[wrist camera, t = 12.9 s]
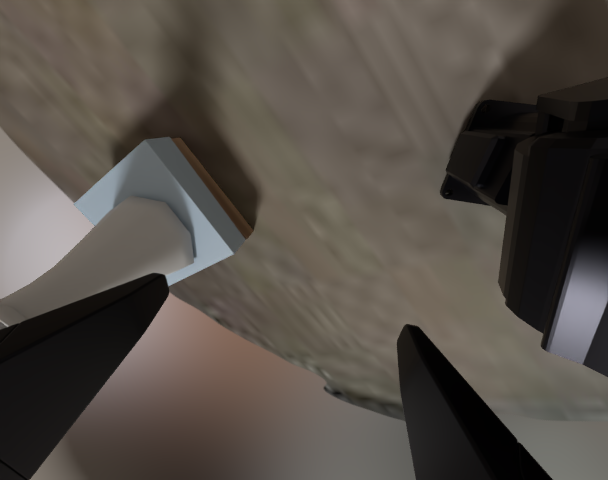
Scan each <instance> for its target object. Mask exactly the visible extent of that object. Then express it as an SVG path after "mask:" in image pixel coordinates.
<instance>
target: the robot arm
mask: <svg viewBox="0 0 608 480" xmlns="http://www.w3.org/2000/svg"><path fill="white" fill-rule="evenodd" d="M484 105H487V110H486V112H484V113H482V111H481V109H482V107H483V106H484ZM446 172H447V176H446V178H445V180H444V183H443V185H442V188H441V190H440V194H441V196H442V197H444V198H446V199H451V200H457V201H464V202H470V203H476V204H483V205H489V206H492V207H494V208H495V209H497V210H499V211H500V212H502V213H503V214H505V215H506V223H505V231H504V239H503V247H502V255H501V263H500V271H499V279H498V283H499V286H500V288H501V291H502V293H503V296H504V297H505V298H506V301H505V304H506V306H507V307H508V308H509V309H510V310H511V311H512V312H513V313H514V314H515V315H516V316H517V317H519V318H520V319H522V320H523V321H525V322H526V323H527V324H529V325H530V326H532V327H533V328H535V329H536V330H538V331H540V332H542V333H543V338H542V341H541V347H542V349H544V350H545V351H547V352H550V353H553V354H555V355H558V356H561V357H564V358H566V359H569V360H572V361H575V362H577V363H580V364H583V365H585V366H587V367H589V368H591V369H593V370H595V371H597V372H599V373H601V374H603V375H605V376H607V377H608V77H607V78H604V79H600V80H596V81H592V82H588V83H585V84H581V85H577V86H573V87H569V88H566V89H562V90H558V91H554V92H550V93H547V94H543V95H539V96H538V100H537V105H530V104H521V103H513V102H505V101H496V100H483V101H481V102H479V103H478V104H477V105H476V107H475V109H474V111H473V113H472V116H471V118H470V120H469V123H468V125H467V128H466V130H465V131H464V132H463V133H461V134H460V136H459V138H458V141H457V143H456V146H455V148H454V151H453V153H452V156H451V158H450V160H449V163H448V165H447V168H446ZM448 189H451V192H450V193H449V194H445V193H446V191H447V190H448ZM168 295H169V287H168V283H167V278H166V276H165V275H164V274H160V273H151V274H148V275H145V276H142V277H140V278H137V279H134V280H132V281H129V282H126V283H124V284H121V285H118V286H116V287H113V288H110V289H108V290H105V291H102V292H100V293H97V294H94V295H92V296H89V297H86V298H84V299H81V300H78V301H76V302H73V303H70V304H67V305H65V306H62V307H59V308H57V309H54V310H51V311H49V312H46V313H43V314H41V315H38V316H35V317H33V318H30V319H27V320H25V321H22V322H21V323H16V324H14V325H11V326H8V327H6V328H3V329H0V480H29V479H31V477H32V476H33V475H34V474H35V472H36V471H37V470H38V469H39V467H40V466H41V465H42V463H43V462H44V461H45V459H46V458H47V457H48V456H49V455H50V453H51V452H52V451H53V449H54V448H55V447H56V445H57V444H58V443H59V442H60V440H61V439H62V438H63V437H64V435H65V434H66V433H67V431H68V430H69V429H70V428H71V426H72V425H73V424H74V422H75V421H76V420H77V418H78V417H79V416H80V415H81V413H82V412H83V411H84V410H85V408H86V407H87V406H88V405H89V403H90V402H91V401H92V399H93V398H94V397H95V396H96V394H97V393H98V392H99V390H100V389H101V388H102V387H103V385H104V384H105V382H106V381H107V380H108V379H109V378H110V376H111V375H112V374H113V373H114V371H115V370H116V369H117V367H118V366H119V365H120V363H121V362H122V361H123V360H124V358H125V357H126V356H127V354H128V353H129V352H130V351H131V350H132V348H133V347H134V346H135V344H136V343H137V342H138V341H139V339H140V338H141V337H142V335H143V334H144V332H145V331H146V330H147V328H148V327H149V325H150V324H151V322H152V321H153V319H154V317H155V316H156V314H157V313H158V311H159V310H160V308H161V307H162V305H163V303H164V301H165V300H166V299H167V297H168ZM397 353H398V367H399V381H400V392H401V398H402V404H403V410H404V415H405V421H406V426H407V432H408V437H409V443H410V449H411V454H412V460H413V466H414V471H415V477H416V480H553V479H552V478H551V477H550V476H549V475H548V474H547V473H546V471H545V470H544V469H543V468H542V467H541V466H540V465H539V464H538V462H537V461H536V460H535V459H534V458H533V457H532V456H531V455H530V453H529V452H528V451H527V450H526V449H525V448H524V447H523V445H522V444H521V443H519V442H518V441H517V439H516V437H515V436H514V435H513V434H512V433H511V432H510V431H509V429H508V428H507V427H506V426H505V425H504V424H503V423H502V422H501V421H500V419H499V418H498V417H497V416H496V415H495V413H494V412H493V411H492V410H491V409H490V408H489V407H488V405H487V404H486V403H485V402H484V401H483V400H482V399H481V397H480V396H479V395H478V394H477V393H476V392H475V391H474V389H473V388H472V387H471V386H470V385H469V384H468V383H467V381H466V380H465V379H464V378H463V377H462V376H461V375H460V373H459V372H458V371H457V370H456V369H455V368H454V367H453V365H452V364H451V363H450V362H449V361H448V360H447V359H446V357H445V356H444V355H443V354H442V353H441V352H440V351H439V349H438V348H437V347H436V346H435V345H434V344H433V342H432V341H431V340H430V339H429V338H428V337H427V336H426V334H425V333H424V332H423V331H422V330H421V329H420V328H419V327H418V326H415V325H410V324H406V325H404V327H403V329H402V331H401V333H400V335H399V338H398V340H397Z"/></svg>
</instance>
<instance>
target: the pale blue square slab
mask: <svg viewBox="0 0 608 480" xmlns="http://www.w3.org/2000/svg"><path fill="white" fill-rule="evenodd" d="M129 196H136V197H141V198H146V199H151V200H156V201H161V202H166V204H167V205H168V206H169V207H170V209H171V210H172V211H173V212H174V214H175V215H176V216H177V217H178V219H179V220H180V221H181V222H182V224H183V225H184V226H185V227H186V229H187V230H188V231H189V232H190V234H191V242H192V249H193V257H194V263H193V264H191V265H189V266H186V267H184V268H182V269H180V270H178V271H176V272H174V273H171V274H169V275H166V278H167V283H168V286H170V285H172V284H174V283H176V282H178V281H180V280H182V279H184V278H186V277H188V276H190V275H192V274H194V273H196V272H198V271H200V270H202V269H204V268H206V267H208V266H211V265H213V264H215V263H217V262H219V261H221V260H223V259H225V258H227V257H229V256H231V255H233V254H235V252H236V251H237V250H238V249H239V247H240V246H241V245H242V244H243V242H244V241H245V238H244V237H243V236H242V234H241V233H240V231H239V230H238V229H237V227H236V226H235V225H234V223H233V222H232V221H231V219H230V218H229V217H228V215H227V214H226V212H225V211H224V210H223V208H222V207H221V206H220V204H219V203H218V202H217V200H216V199H215V198H214V196H213V195H212V194H211V192H210V191H209V189H208V188H207V187H206V185H205V184H204V183H203V181H202V180H201V179H200V177H199V176H198V175H197V173H196V172H195V170H194V169H193V168H192V166H191V165H190V164H189V162H188V161H187V160H186V158H185V157H184V156H183V154H182V153H181V152H180V150H179V149H178V147H177V146H176V145H175V143H174V142H173V141H172V139H171V138H170V137H162V138H153V139H145V140H144V141H143V142H141V143H140V144H139V145H138V146H137V147H136V148H135V149H134V150H133V151H132V152H130V153H129V154H128V155H127V156H126V157H125V158H124V159H123V160H122V161H121V162H119V163H118V164H117V165H116V166H115V167H114V168H113V169H112V170H111V171H109V172H108V173H107V174H106V175H105V176H104V177H103V178H102V179H101V180H100V181H98V182H97V183H96V184H95V185H94V186H93V187H92V188H91V189H90V190H89V191H87V192H86V193H85V194H84V195H83V196H82V197H81V198H80V199H79V200H78V201H76V202H75V203H74V205H75V206H76V207H77V208H78V209H79V210H80V211H81V212H82V214H83V215H85V217H87V218H88V220H89V221H90V222H92V224H93V225H94V226H96V224H97V223H98V222H99V221H100V220H101V219H102V218H103V217H104V216H105V215H106V214H107V213H108V212H109V211H110V210H112V209H113V208H114V207H116V206H117V205H118V204H120V203H121V202H123V201H124V200H125V199H127V198H128V197H129Z"/></svg>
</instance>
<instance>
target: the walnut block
mask: <svg viewBox="0 0 608 480" xmlns="http://www.w3.org/2000/svg"><path fill="white" fill-rule="evenodd" d="M171 139H172V141H173V142H174V143H175V145H176V146H177V147H178V149H179V150H180V152H181V153H182V154H183V156H184V157H185V158H186V160H187V161H188V162H189V164H190V165H191V166H192V168H193V169H194V170H195V172H196V173H197V175H198V176H199V177H200V179H201V180H202V181H203V183H204V184H205V185H206V187H207V188H208V189H209V191H210V192H211V194H212V195H213V196H214V198H215V199H216V200H217V202H218V203H219V204H220V206H221V207H222V208H223V210H224V211H225V212H226V214H227V215H228V217H229V218H230V219H231V221H232V222H233V223H234V225H235V226H236V227H237V229H238V230H239V231H240V233H241V234H242V236H243V237H244V238H245V240H246V239H247V238H248V237H249V236H250V235H251V233H252V232H253V229H252V228H251V227H250V226H249V224H248V223H247V222H246V220H245V219H244V218H243V217H242V215H241V214H240V213H239V212H238V210H237V209H236V208H235V206H234V205H233V204H232V203H231V201H230V200H229V199H228V198H227V196H226V195H225V194H224V193H223V191H222V190H221V189H220V187H219V186H218V185H217V184H216V182H215V181H214V180H213V179H212V177H211V176H210V175H209V173H208V172H207V171H206V170H205V168H204V167H203V166H202V165H201V163H200V162H199V161H198V159H197V158H196V157H195V156H194V154H193V153H192V152H191V151H190V149H189V148H188V147H187V145H186V144H185V143H184V142H183V140H182V139H181V138H180V137H179V138H171Z"/></svg>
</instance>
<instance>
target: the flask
mask: <svg viewBox="0 0 608 480" xmlns="http://www.w3.org/2000/svg"><path fill="white" fill-rule="evenodd" d="M193 263H194V257H193V249H192V242H191V234H190V232H189V231H188V230H187V229H186V227H185V226H184V225H183V224H182V222H181V221H180V220H179V219H178V217H177V216H176V215H175V214H174V212H173V211H172V210H171V209H170V207H169V206H168V205H167V204H166V202H161V201H156V200H151V199H146V198H141V197H136V196H129V197H128V198H127V199H125V200H124V201H123V202H121V203H120V204H118V205H117V206H116V207H114V208H113V209H112V210H110V211H109V212H108V213H107V214H106V215H105V216H104V217H103V218H102V219H101V220H100V221H99V222H98V223H97V224H96V226H95V227H94V228H93V229H92V230H91V231H90V232H89V233H88V234H87V235H86V236H85V237H84V238H83V239H82V240H81V241H80V242H79V243H78V244H77V245H76V246H75V247H74V248H73V249H72V250H71V251H70V252H69V253H68V254H67V255H66V256H65V257H64V258H63V259H62V260H60V261H59V262H58V263H57V264H56V265H55V266H54V267H53V268H52V269H50V270H49V271H47V272H46V273H44V274H43V275H42V276H40V277H39V278H37V279H36V280H35V281H33V282H32V283H30V284H29V285H27V286H25V287H23V288H22V289H20V290H18V291H16V292H14V293H12V294H10V295H9V296H7V297H5V298H3V299H0V329H3V328H6V327H8V326H11V325H14V324H16V323H21V322H22V321H25V320H27V319H30V318H33V317H35V316H38V315H41V314H43V313H46V312H49V311H51V310H54V309H57V308H59V307H62V306H65V305H67V304H70V303H73V302H76V301H78V300H81V299H84V298H86V297H89V296H92V295H94V294H97V293H100V292H102V291H105V290H108V289H110V288H113V287H116V286H118V285H121V284H124V283H126V282H129V281H132V280H134V279H137V278H140V277H142V276H145V275H148V274H151V273H160V274H164V275H165V276H166V275H169V274H171V273H174V272H176V271H178V270H180V269H182V268H184V267H186V266H189V265H191V264H193Z"/></svg>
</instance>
